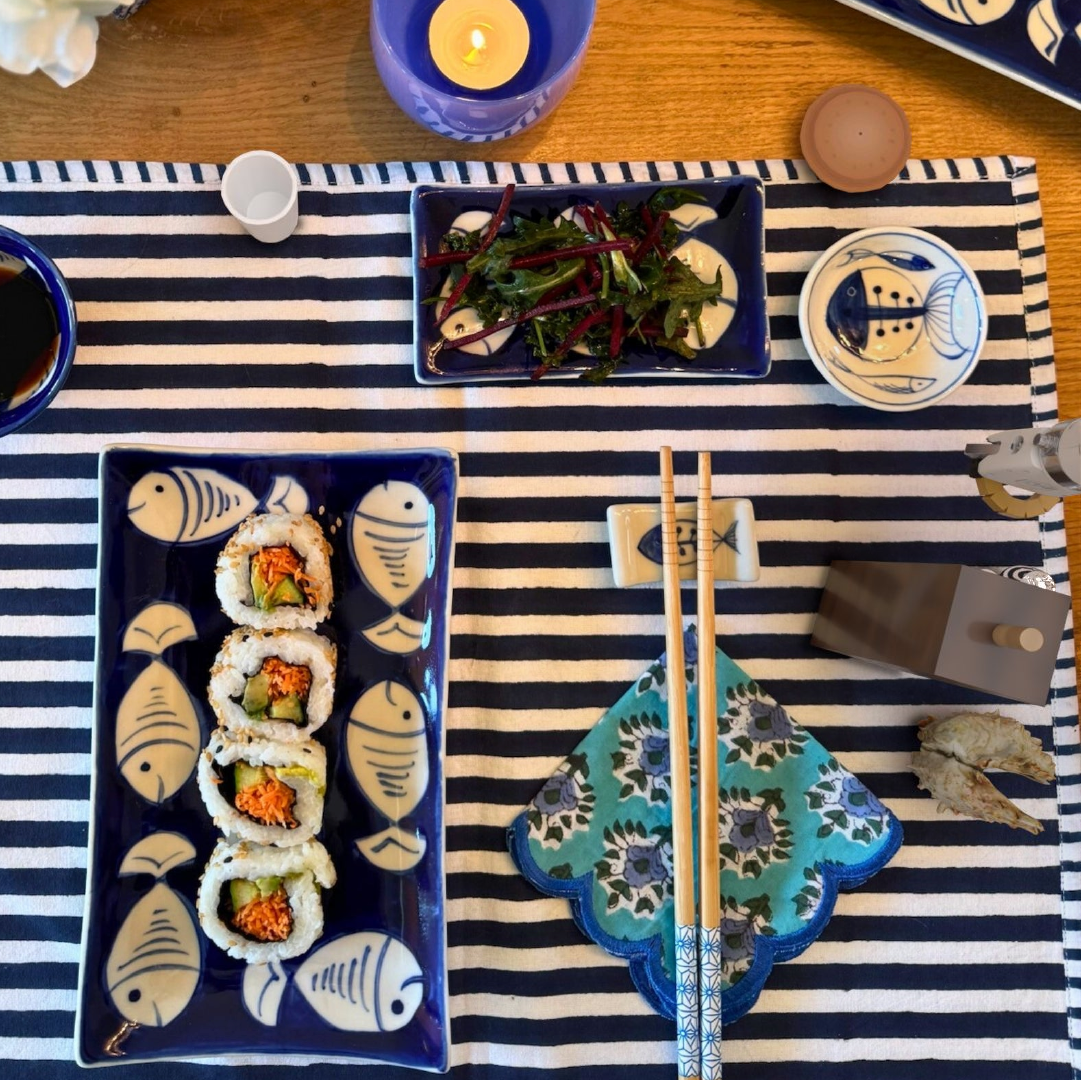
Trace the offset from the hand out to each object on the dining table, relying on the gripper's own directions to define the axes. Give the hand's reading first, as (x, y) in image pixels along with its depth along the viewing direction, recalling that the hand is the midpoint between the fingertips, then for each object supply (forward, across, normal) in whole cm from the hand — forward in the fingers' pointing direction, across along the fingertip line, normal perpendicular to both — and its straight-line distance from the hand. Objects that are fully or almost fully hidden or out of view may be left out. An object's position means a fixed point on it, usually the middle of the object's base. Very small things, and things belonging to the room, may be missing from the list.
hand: (987, 469), depth 125 cm
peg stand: (+20, -2, -20) cm, 28 cm away
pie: (+19, -21, +43) cm, 52 cm away
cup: (+18, -96, +10) cm, 98 cm away
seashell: (+20, +14, -35) cm, 43 cm away
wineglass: (+20, +13, -11) cm, 26 cm away
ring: (0, +4, 0) cm, 4 cm away
